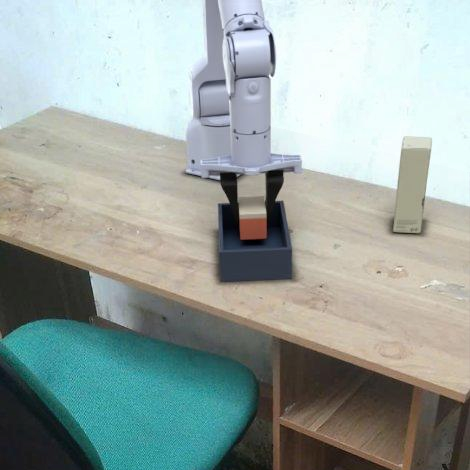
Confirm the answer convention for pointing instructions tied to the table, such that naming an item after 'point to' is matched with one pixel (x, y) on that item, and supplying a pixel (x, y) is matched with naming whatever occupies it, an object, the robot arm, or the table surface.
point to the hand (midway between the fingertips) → (252, 221)
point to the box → (412, 184)
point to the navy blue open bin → (254, 248)
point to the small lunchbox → (252, 218)
